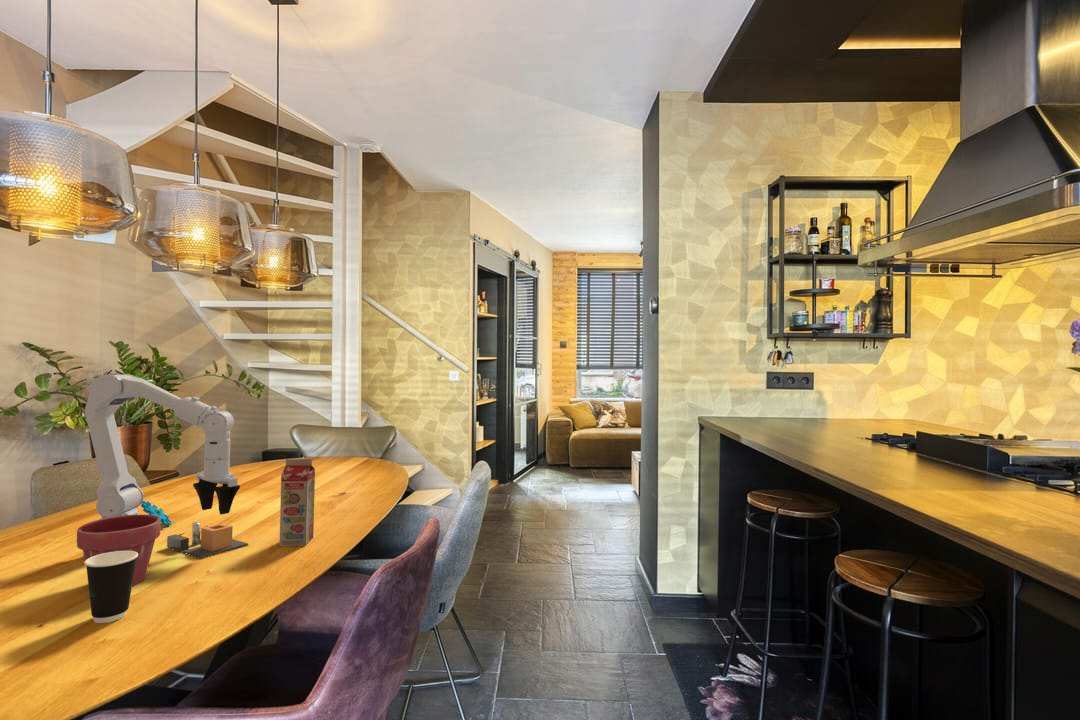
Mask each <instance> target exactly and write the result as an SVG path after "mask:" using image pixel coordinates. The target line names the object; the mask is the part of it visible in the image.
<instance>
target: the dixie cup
mask: <svg viewBox="0 0 1080 720" xmlns="http://www.w3.org/2000/svg"><path fill="white" fill-rule="evenodd" d="M137 557H138V553H137V552H134V551H115V552H108V553H103V554H99V555H96V556H93V557H90V558H88V559H87V560H86V561H85V560H84V565H85V566H86V576H87V585H88V594H89V602H90V603H89V604H90V613H91V617H92V619H93V622H94V623H97V624H106V623H111V622H116V621H119V620H121V619H123V618H124V617H126V615H127V611H128V609H129V607H130V600H131V593H132V588H133V585H132V582H133V576H134V569H135V563H136V558H137ZM120 618H121V619H120Z"/></svg>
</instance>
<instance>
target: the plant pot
mask: <svg viewBox="0 0 1080 720" xmlns="http://www.w3.org/2000/svg"><path fill="white" fill-rule="evenodd" d="M99 519H100V520H99ZM99 519H96V520H93V522H92V521H90V522H87V523H85V524H82V525H81V526H79V527H78V528H77V530H76V547H77V549H79V550H82V553H83V557H84V562H85V561H86V560H87V559H88V558H90V557H93V556H96V555H99V554H103V553H108V552H115V551H134V552H137V553H138V557H137V558H136V563H135V569H134V576H133V582H132V586H134V585H137V584H139V583H142V582H143V581H144V580H145V578H146V575H147V571H148V568H149V567H148V566H149V564H150V561H151V557H152V553H153V549H154V546H155V541H156V539H158V538H159V537H160V535H161V522H160V518H159V517H158V516H154V515H149V514H138V515H125V516H116V517H110V518H105V519H101V518H99Z"/></svg>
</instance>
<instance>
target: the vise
mask: <svg viewBox="0 0 1080 720" xmlns="http://www.w3.org/2000/svg"><path fill="white" fill-rule="evenodd" d="M191 530H192V531H191V545H192V546H198V545H197V544H199V545H201V521H197V522H192V526H191ZM167 547H168V548H170V549H169V550H172V549H174V550H173V551H175V550H177V551H176V552H178V551H180V552H179V553H182V552H181V551H184V550H188V549H190V548H189V547H190V538H189V537H187V536H183V535H180V534H176V533H175V534H171V535H167V537H166V548H167ZM168 548H167V549H168Z"/></svg>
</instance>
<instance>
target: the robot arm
mask: <svg viewBox="0 0 1080 720" xmlns="http://www.w3.org/2000/svg"><path fill="white" fill-rule="evenodd" d="M87 388H88V392H89V394H88V398H87V401H86V404H85V407H84V415H85V420H86V423H87V427H88V431H89V434H90V439H91V442H92V447H93V451H94V455H95V460H96V463H97V467H98V471H99V474H100V479H101V480H100V481H101V482H100V483H99V486H98V487H97V490H96V494H97V500H96V504H95V509H96V511H97V513H98V515H99V516H101V518H99V519H98V520H100V519H105V518H110V517H116V516H125V515H139V507H141V505H142V504H141V503H142V502H143V501H144V498H145V497H144V496H145V494H144V491H143V490H142V488H141V487H140V486H139V485H138V484H137V480H136V478H135V477H134V476H132V475H131V474H130V473H129V470H128V466H127V461H126V457H125V453H124V450H123V445H122V442H121V438H120V434H119V430H118V427H117V426H118V425H117V422H116V419H115V413H116V411H118V409H119V408H120V407H121V406H123V405H122V404H124V403H125V402H127V401H129V400H131V399H132V398H143V399H145V400H148V401H150V402H152V403H155V404H158V405H161V406H163V407H165V408H168V409H170V410H173V413H174V416H175V417H176V418H177V419H178V418H179V419H181V420H182V421H185V422H187V423H189V424H191V425H194V426H195V427H199V428H201V430H202V431H203V432H204V433H205V435H204V438H205V439H204V457H203V458H204V460H203V471H202V472H201V471H200V472H197V473H196V479H195V480H196V481H197V482H193V484H192V487H193V488H194V489H195V491H196V493H197V496H198V499H199V502H200V507H201V509H202V511H207V510H212V508H213V504H214V498H215V493H216V497H217V501H218V502H217V503H218V512H219V515H221V516H222V515H226V514H229V513H230V512H231V507H232V505H233V501H234V500H235V497H236V495H237V492H239V490H240V488H241V486H240V484H238V480H239V479H238V477H235V476H234V473H233V472H230V471H231V443H232V442H231V432H232V431H231V430H232V429H233V427H234V425H235V417H234V416H233V414H231V412H229V411H228V410H226V409H225V410H224V409H220V410H218V407H217V406H215V405H212V406H211V405H208V404H206V403H204V402H202V401H200V399H201V398H199V397H198V396H193V397H190V396H186V397H183V398H181V397H179V396H177V395H175V394H173V393H172V392H169V391H167V390H165V389H164V388H161V387H159V386H157V385H156V384H153V383H151V382H149V381H147V380H146V379H144V378H141V377H136V376H135V375H133V374H130V373H123V374H102V375H99V376H97V377H96V378H95V380H93V381H92V383H90V384H89V386H88V387H87ZM219 485H221V486H219ZM93 521H94V520H93ZM93 521H91V522H93Z"/></svg>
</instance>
